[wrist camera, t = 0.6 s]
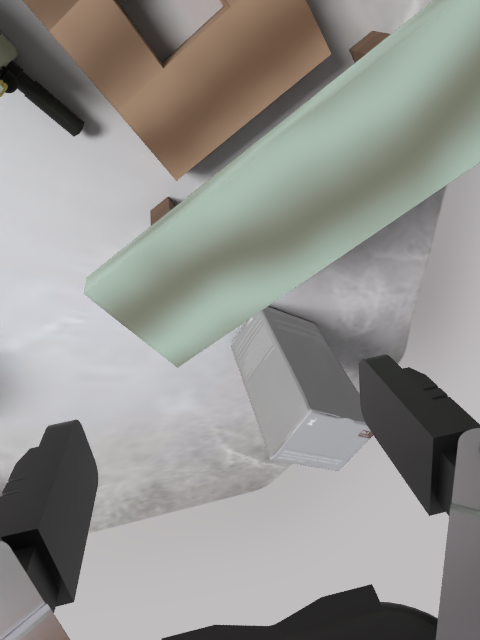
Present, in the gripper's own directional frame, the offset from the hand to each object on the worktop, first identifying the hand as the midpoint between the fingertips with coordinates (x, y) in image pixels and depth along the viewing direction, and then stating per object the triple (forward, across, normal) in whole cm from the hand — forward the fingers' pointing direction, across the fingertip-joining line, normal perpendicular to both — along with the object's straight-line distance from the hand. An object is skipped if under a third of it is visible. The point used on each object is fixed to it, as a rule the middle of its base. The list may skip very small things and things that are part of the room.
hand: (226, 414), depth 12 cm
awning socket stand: (+25, -3, -13) cm, 29 cm away
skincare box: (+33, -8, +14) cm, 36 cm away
